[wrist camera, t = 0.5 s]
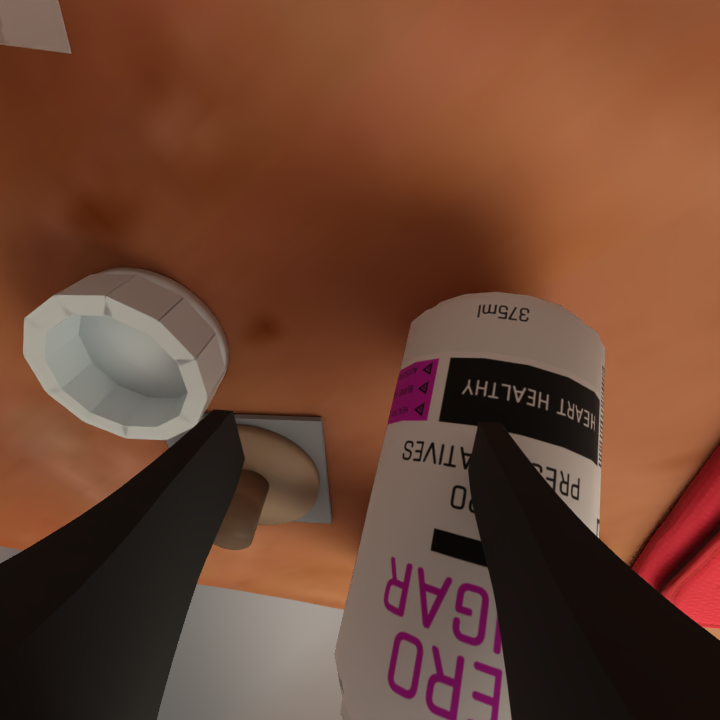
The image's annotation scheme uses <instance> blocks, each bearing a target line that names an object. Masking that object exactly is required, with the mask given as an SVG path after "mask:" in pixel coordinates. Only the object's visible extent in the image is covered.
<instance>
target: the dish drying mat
mask: <svg viewBox="0 0 720 720" xmlns="http://www.w3.org/2000/svg"><path fill="white" fill-rule="evenodd" d="M631 569H632V570H633V571H635V572H636V573H637V574H638V575H639V576H640V577H642V578H643V579H644V580H645V581H646V582H648V583H649V584H650V585H651V586H652V587H653V588H655V589H656V590H657V591H658V592H659V593H660V594H662V595H663V596H664V597H665V598H666V599H668V600H669V601H670V602H671V603H672V604H674V605H675V606H676V607H677V608H679V609H680V610H681V611H682V612H683V613H685V614H686V615H687V616H689V617H690V618H691V619H692V620H694V621H695V622H696V623H698V624H699V625H700V626H701V627H708V628H719V629H720V444H719V446H718V447H717V448H716V450H715V451H714V453H713V454H712V455H711V457H710V458H709V459H708V461H707V462H706V463H705V465H704V466H703V467H702V469H701V470H700V471H699V473H698V474H697V475H696V477H695V478H694V479H693V481H692V482H691V483H690V485H689V486H688V488H687V489H686V490H685V492H684V493H683V495H682V496H681V498H680V499H679V501H678V502H677V504H676V505H675V507H674V508H673V510H672V511H671V512H670V514H669V515H668V517H667V518H666V519H665V521H664V522H663V523H662V525H661V526H660V527H659V528H658V530H657V531H656V532H655V534H654V535H653V536H652V538H651V539H650V541H649V542H648V544H647V545H646V547H645V548H644V550H643V551H642V553H641V555H640V556H639V558H638V559H637V561H636V562H635V564H634V565H633V567H632V568H631Z"/></svg>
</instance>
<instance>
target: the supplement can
mask: <svg viewBox="0 0 720 720" xmlns="http://www.w3.org/2000/svg"><path fill="white" fill-rule="evenodd" d="M604 367H605V348H604V346H603V344H602V341H601V339H600V337H599V335H598V333H597V332H596V331H595V330H593V329H592V328H590V327H589V326H587V325H586V324H584V323H583V322H582V320H581V319H580V318H579V317H577V316H576V315H574V314H573V313H571V312H570V311H568V310H567V309H565V308H564V307H562V306H561V305H558V304H555V303H552V302H549V301H545V300H542V299H539V298H536V297H533V296H529V295H520V294H511V293H502V292H488V293H474V294H464V295H461V296H457V297H454V298H451V299H448V300H445V301H441V302H440V303H438V304H437V305H436V306H435V307H433V308H432V309H428V310H426V311H425V312H424V313H422V314H421V315H420V316H419V317H417V318H416V319H415V320H413V321H412V322H411V326H410V330H409V334H408V338H407V342H406V346H405V351H404V355H403V359H402V364H401V368H400V372H399V377H398V381H397V385H396V390H395V394H394V398H393V403H392V407H391V411H390V415H389V420H388V424H387V428H386V433H385V437H384V441H383V446H382V450H381V454H380V459H379V463H378V467H377V471H376V476H375V480H374V484H373V489H372V493H371V497H370V502H369V506H368V510H367V515H366V519H365V523H364V528H363V532H362V536H361V540H360V545H359V549H358V553H357V558H356V562H355V566H354V571H353V575H352V579H351V584H350V588H349V592H348V597H347V601H346V605H345V609H344V614H343V618H342V622H341V627H340V631H339V635H338V640H337V645H336V650H335V659H336V664H337V671H338V676H339V682H340V687H341V694H342V705H341V716H342V718H343V720H512V719H511V711H510V703H509V694H508V686H507V679H506V672H505V664H504V657H503V650H502V643H501V636H500V629H499V623H498V616H497V610H496V603H495V598H494V593H493V588H492V583H491V579H490V575H489V571H488V567H487V563H486V559H485V555H484V551H483V547H482V543H481V539H480V535H479V531H478V527H477V522H476V518H475V514H474V510H473V506H472V499H471V492H470V484H469V475H468V468H469V463H470V459H471V454H472V449H473V445H474V440H475V436H476V431H477V427H478V422H496V423H501V424H502V425H503V426H504V427H505V429H506V430H507V431H508V433H509V434H510V435H511V437H512V438H513V439H514V441H515V442H516V443H517V445H518V446H519V447H520V449H521V450H522V451H523V453H524V454H525V455H526V457H527V458H528V459H529V460H530V462H531V463H532V464H533V465H534V467H535V468H536V469H537V470H538V472H539V473H540V474H541V475H542V476H543V478H544V479H545V480H546V481H547V482H548V484H549V485H550V486H551V487H552V488H553V490H554V491H555V492H556V493H557V494H558V495H559V497H560V498H561V499H562V500H563V501H564V502H565V503H566V504H567V505H568V507H569V508H570V509H571V510H572V511H573V512H574V513H575V514H576V515H577V516H578V517H579V519H580V520H581V521H582V522H583V523H584V524H585V525H586V526H587V527H588V528H589V529H590V530H591V531H592V532H593V533H594V534H595V535H596V536H597V537H598V538H599V517H600V487H601V457H602V427H603V397H604Z"/></svg>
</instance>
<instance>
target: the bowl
mask: <svg viewBox="0 0 720 720" xmlns="http://www.w3.org/2000/svg"><path fill="white" fill-rule="evenodd" d="M23 354H24V355H23V356H24V357H25V359H26V361H27V362H28V364H29V365H30V367H31V369H32V370H33V372H34V374H35V375H36V377H37V379H38V380H39V382H40V383H41V385H42V387H43V388H44V390H45V392H47V394H49V395H50V396H51V397H52V398H54V399H55V400H56V401H58V402H59V403H60V404H61V405H63V406H64V407H65V408H66V409H68V410H69V411H70V412H72V413H73V414H74V415H75V416H77V417H78V418H79V419H80V420H82V421H84V422H85V423H88V424H90V425H93V426H95V427H98V428H100V429H103V430H106V431H108V432H111V433H113V434H116V435H118V436H121V437H124V438H126V437H127V439H150V440H168V439H170V438H172V437H174V436H176V435H178V434H180V433H183V432H185V431H187V430H189V429H191V428H193V427H194V426H195V425H196V424H198V422H199V420H200V419H201V417H202V415H203V414H204V412H205V410H206V409H207V407H208V406H209V404H210V402H211V401H212V399H213V397H214V395H215V393H216V391H217V388H218V386H219V384H220V383H221V381H222V380H223V378H224V376H225V374H226V371H227V368H228V363H229V349H228V343H227V340H226V337H225V334H224V331H223V329H222V327H221V325H220V323H219V322H218V320H217V319H216V317H215V315H214V314H213V313H212V312H211V310H210V309H209V308H208V307H207V306H206V305H205V304H204V303H203V302H202V301H201V299H199V298H198V297H197V296H196V295H195V294H194V293H192V292H191V291H190V290H188V289H187V288H185V287H184V286H183V285H181V284H179V283H178V282H176V281H174V280H172V279H170V278H168V277H166V276H163V275H161V274H159V273H155V272H152V271H149V270H145V269H139V268H130V267H120V268H112V269H107V270H104V271H101V272H99V273H96V274H91V275H89V276H87V277H85V278H83V279H82V280H80V281H78V282H76V283H74V284H73V285H71V286H69V287H67V288H66V289H64V290H62V291H60V292H59V293H57V294H55V295H53V296H52V297H51V298H49V299H48V300H47V301H46V302H44V303H43V304H42V305H40V306H39V307H38V308H37V309H35V310H34V311H33V312H31V313H30V314H29V315H28V316H26V317H25V319H24V339H23Z"/></svg>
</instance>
